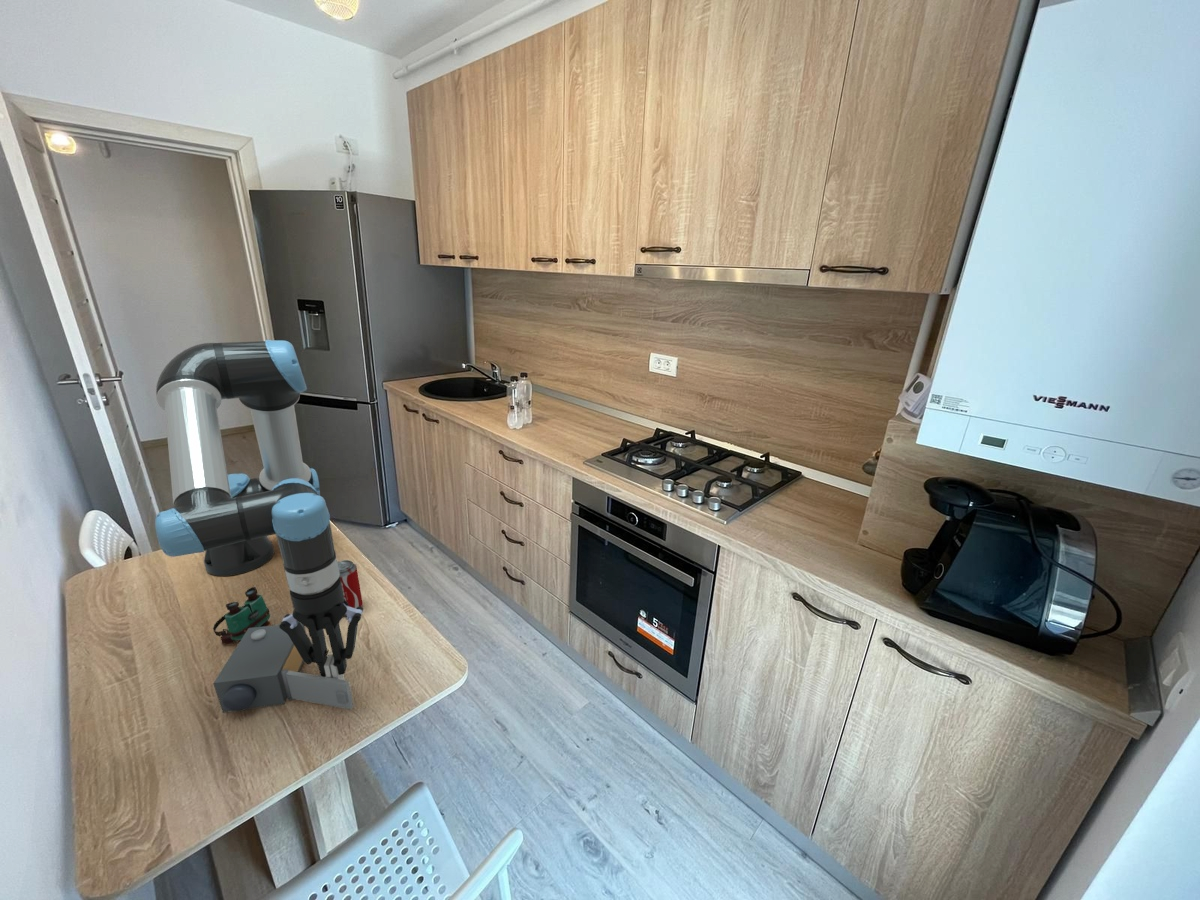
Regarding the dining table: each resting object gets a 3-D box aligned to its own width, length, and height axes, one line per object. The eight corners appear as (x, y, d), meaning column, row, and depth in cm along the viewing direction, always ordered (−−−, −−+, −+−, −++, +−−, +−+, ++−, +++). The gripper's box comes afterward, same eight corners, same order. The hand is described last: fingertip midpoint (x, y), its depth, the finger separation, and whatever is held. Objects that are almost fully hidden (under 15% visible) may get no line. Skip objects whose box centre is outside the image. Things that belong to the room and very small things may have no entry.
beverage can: (368, 605, 115) (361, 562, 111) (347, 620, 110) (339, 576, 106) (351, 598, 117) (343, 556, 113) (329, 612, 112) (321, 569, 108)
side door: (354, 706, 89) (349, 679, 87) (349, 713, 87) (343, 686, 85) (290, 695, 91) (283, 668, 88) (284, 701, 89) (277, 674, 87)
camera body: (256, 655, 100) (247, 624, 97) (310, 648, 102) (303, 618, 99) (218, 720, 86) (207, 687, 83) (282, 711, 88) (273, 678, 85)
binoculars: (230, 581, 107) (268, 584, 104) (245, 620, 110) (282, 624, 108) (191, 607, 98) (230, 611, 96) (208, 648, 102) (247, 653, 100)
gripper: (261, 601, 76) (290, 709, 85) (352, 592, 79) (371, 697, 88) (279, 572, 83) (304, 675, 92) (362, 565, 86) (379, 665, 95)
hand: (337, 686), depth 90 cm, fingers closed
